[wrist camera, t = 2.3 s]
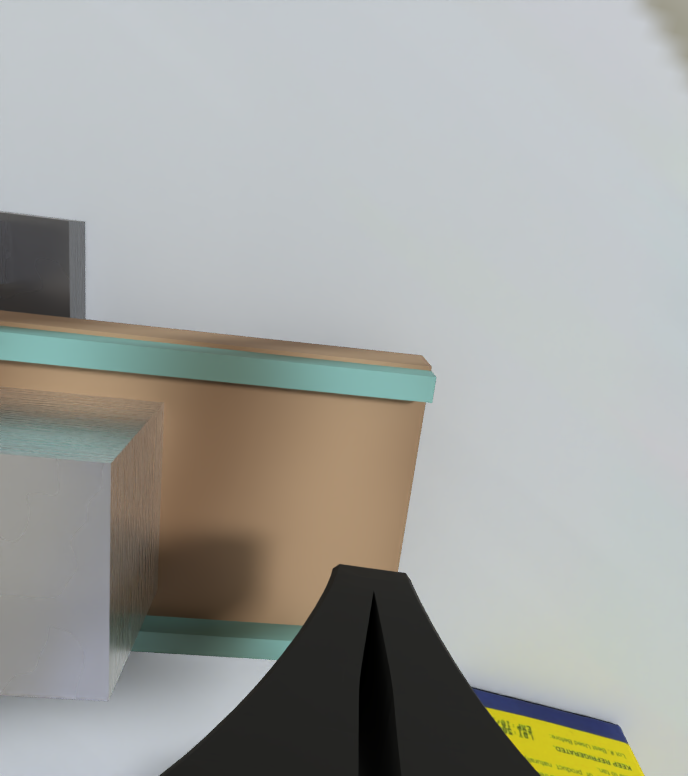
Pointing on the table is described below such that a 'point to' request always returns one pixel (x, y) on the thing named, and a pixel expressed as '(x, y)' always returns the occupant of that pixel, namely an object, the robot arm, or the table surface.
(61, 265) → the beam stand
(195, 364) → the balance beam
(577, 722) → the supplement box
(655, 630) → the table surface
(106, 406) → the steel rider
